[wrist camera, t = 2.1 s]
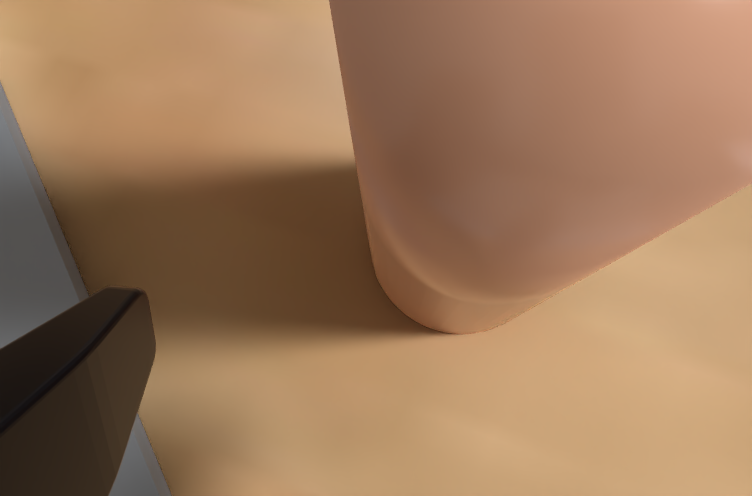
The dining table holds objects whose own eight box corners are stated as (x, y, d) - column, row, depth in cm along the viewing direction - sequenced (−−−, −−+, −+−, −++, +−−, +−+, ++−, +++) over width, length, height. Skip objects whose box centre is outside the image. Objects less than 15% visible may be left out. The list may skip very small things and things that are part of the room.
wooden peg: (574, 307, 19) (1077, 88, 5) (396, 354, 19) (407, 262, 5) (520, 139, 20) (815, -434, 6) (350, 182, 20) (253, -303, 6)
